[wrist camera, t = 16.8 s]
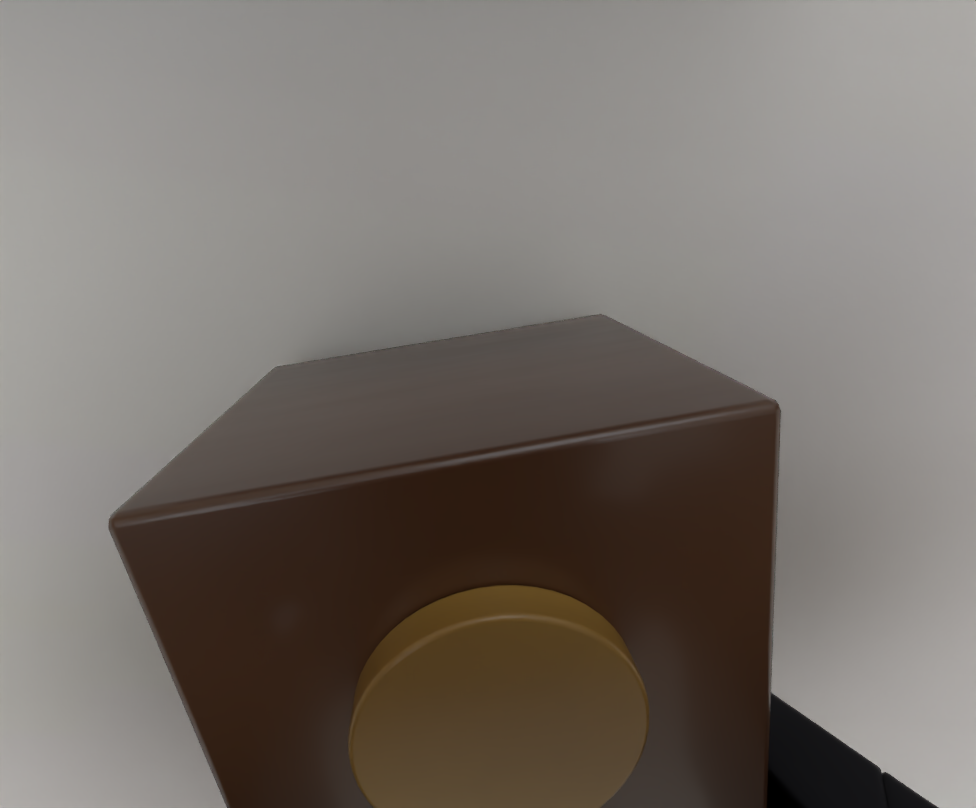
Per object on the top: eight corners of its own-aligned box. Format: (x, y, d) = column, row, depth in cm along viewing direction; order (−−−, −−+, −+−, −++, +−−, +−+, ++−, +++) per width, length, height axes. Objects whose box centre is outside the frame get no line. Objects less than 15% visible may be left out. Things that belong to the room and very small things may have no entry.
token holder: (641, 815, 12) (775, 1189, 7) (411, 864, 11) (400, 1284, 7) (604, 312, 8) (824, 417, 4) (271, 366, 8) (61, 551, 3)
